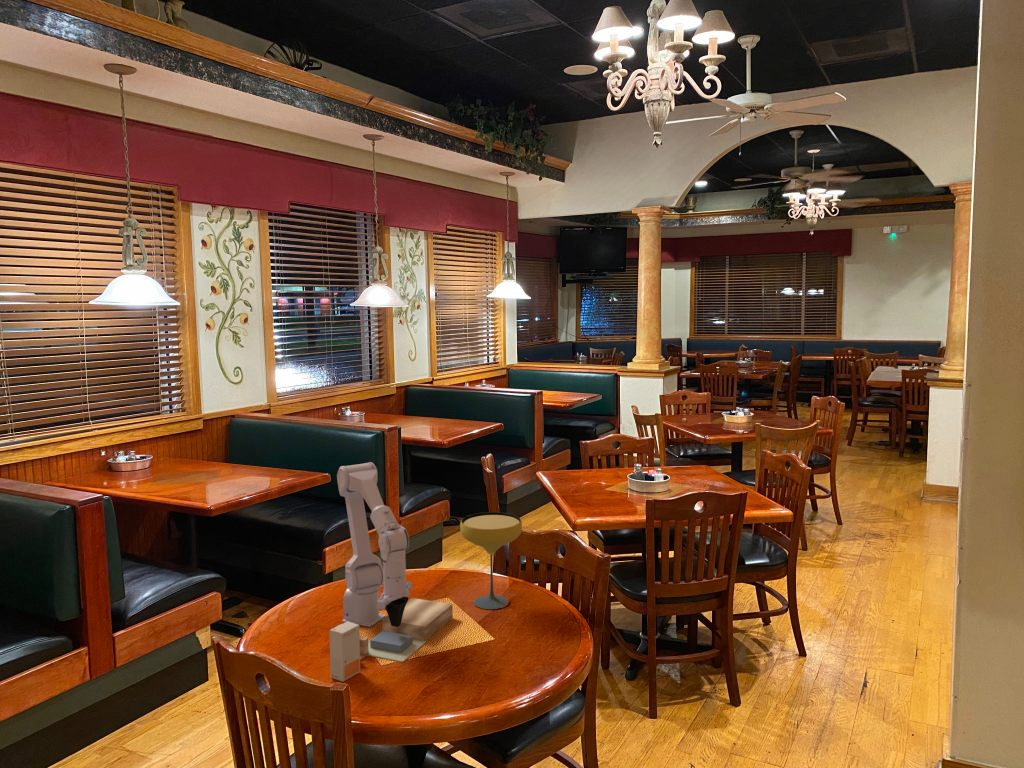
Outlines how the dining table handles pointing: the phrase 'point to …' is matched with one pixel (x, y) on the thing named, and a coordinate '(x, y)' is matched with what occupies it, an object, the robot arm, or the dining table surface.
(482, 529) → the cocktail glass
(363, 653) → the oak rack
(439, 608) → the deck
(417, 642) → the mat
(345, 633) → the skincare box
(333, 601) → the dining table surface
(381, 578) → the robot arm
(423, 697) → the dining table surface
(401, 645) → the blue-grey rectangular block
